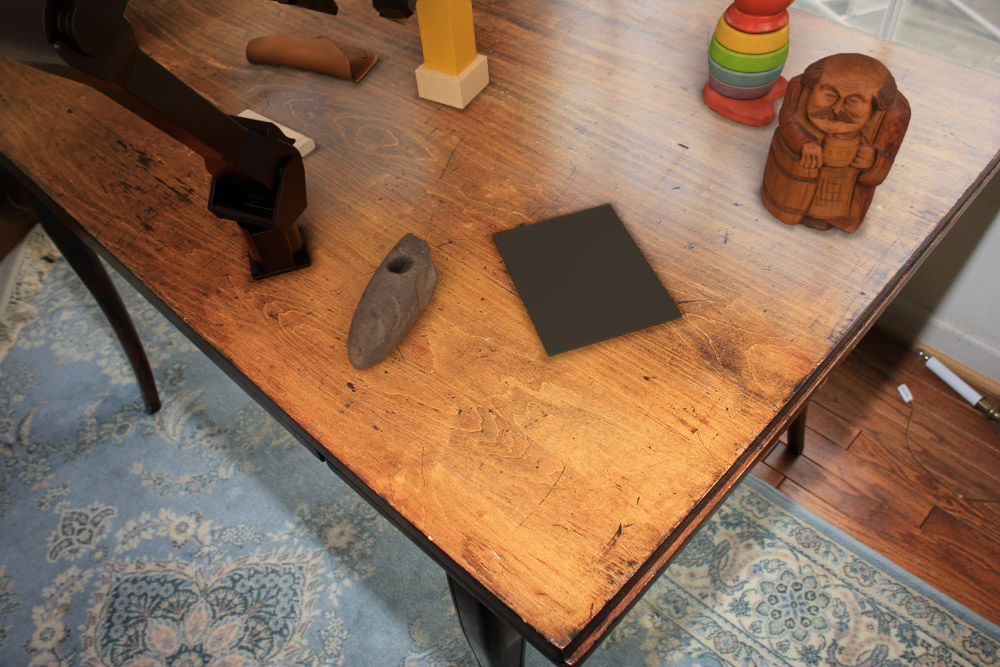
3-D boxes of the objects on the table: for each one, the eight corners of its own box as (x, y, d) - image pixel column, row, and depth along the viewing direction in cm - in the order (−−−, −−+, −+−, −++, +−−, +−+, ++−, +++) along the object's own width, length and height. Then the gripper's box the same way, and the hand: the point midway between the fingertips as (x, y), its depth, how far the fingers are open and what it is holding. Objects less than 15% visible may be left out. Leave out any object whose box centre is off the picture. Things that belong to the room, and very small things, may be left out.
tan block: (462, 109, 98) (459, 82, 95) (419, 96, 101) (414, 70, 98) (489, 82, 102) (487, 55, 99) (446, 71, 105) (443, 44, 102)
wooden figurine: (749, 217, 82) (788, 68, 68) (760, 182, 85) (799, 34, 72) (863, 242, 78) (928, 90, 64) (869, 204, 82) (933, 53, 68)
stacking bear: (768, 130, 91) (805, -14, 78) (689, 112, 95) (711, -29, 81) (791, 85, 97) (829, -56, 84) (715, 69, 101) (740, -69, 87)
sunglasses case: (382, 52, 108) (363, 26, 101) (367, 97, 107) (347, 73, 101) (278, 35, 113) (254, 10, 107) (264, 78, 112) (238, 54, 106)
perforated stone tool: (381, 391, 70) (366, 345, 64) (334, 374, 71) (316, 328, 66) (453, 283, 78) (445, 234, 73) (409, 270, 80) (399, 221, 74)
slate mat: (681, 317, 73) (682, 315, 73) (548, 357, 71) (548, 354, 71) (609, 205, 84) (609, 203, 84) (492, 237, 82) (492, 234, 82)
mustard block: (457, 76, 96) (448, 1, 89) (425, 68, 98) (413, -7, 90) (476, 57, 99) (470, -18, 91) (445, 49, 101) (436, -25, 93)
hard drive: (199, 139, 95) (264, 171, 90) (248, 107, 99) (312, 136, 94) (204, 149, 96) (268, 182, 91) (252, 118, 100) (316, 147, 95)
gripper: (410, -135, 71) (459, -41, 86) (245, -147, 76) (319, -56, 91) (381, -24, 71) (435, 51, 86) (217, -43, 76) (296, 31, 91)
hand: (370, 16), depth 88 cm, fingers open, 9 cm apart
